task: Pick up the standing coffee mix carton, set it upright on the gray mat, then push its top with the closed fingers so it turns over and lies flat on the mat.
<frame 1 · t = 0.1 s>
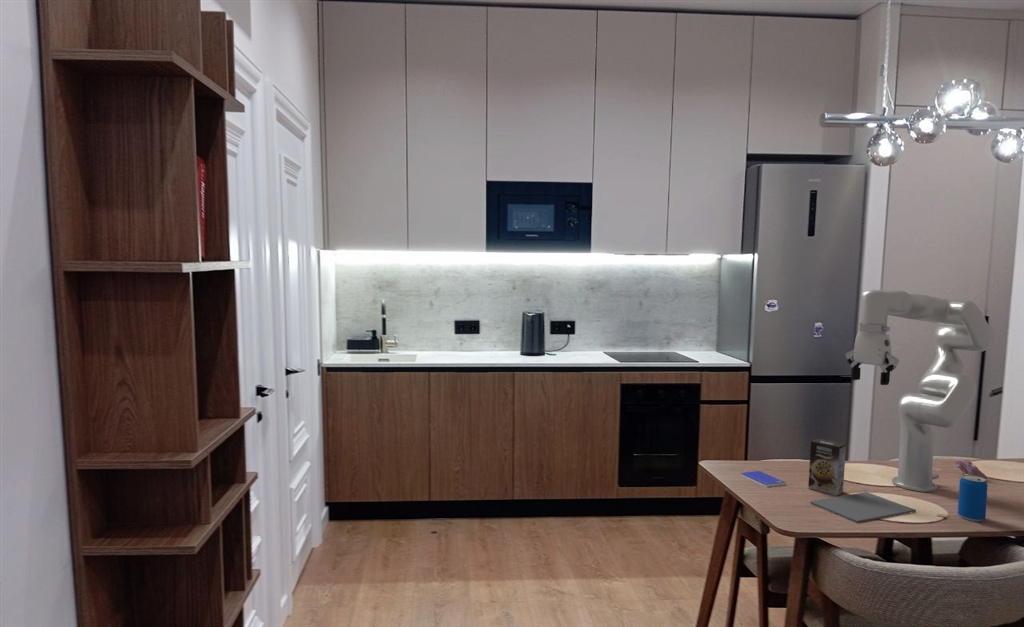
hand: (869, 382, 193), 37 cm above the table, tool pointing down, fingers open, 9 cm apart
coffee box: (825, 490, 199), on the table
beverage can: (971, 518, 177), on the table
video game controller: (970, 477, 216), on the table
hard drive: (762, 482, 208), on the table
gray mat: (861, 507, 184), on the table
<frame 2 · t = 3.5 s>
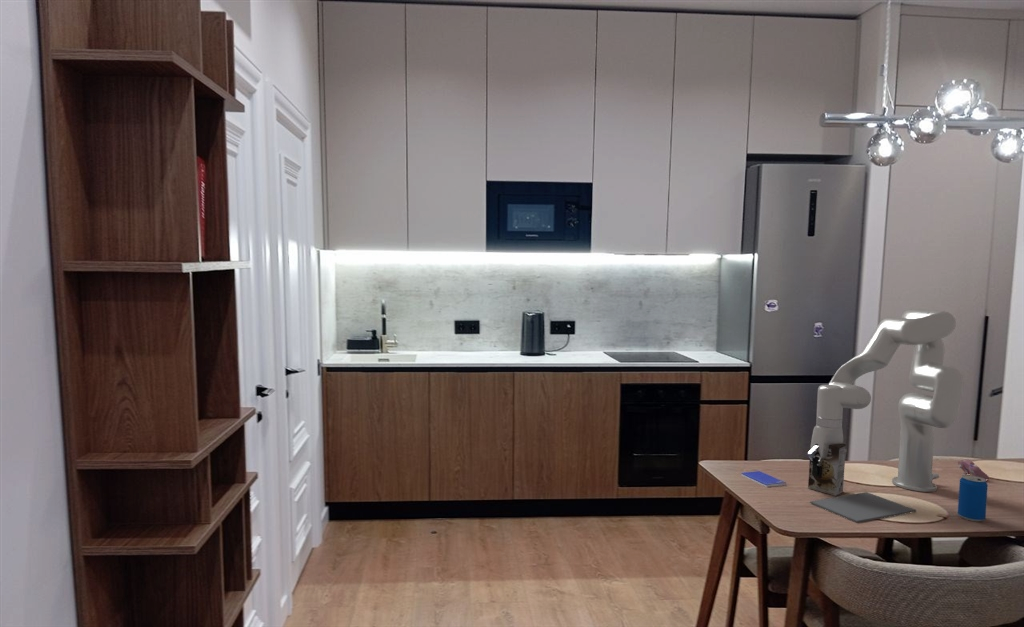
hand: (826, 475, 198), 5 cm above the table, tool pointing down, fingers closed on coffee box, 7 cm apart
coffee box: (825, 490, 199), on the table, touching gripper
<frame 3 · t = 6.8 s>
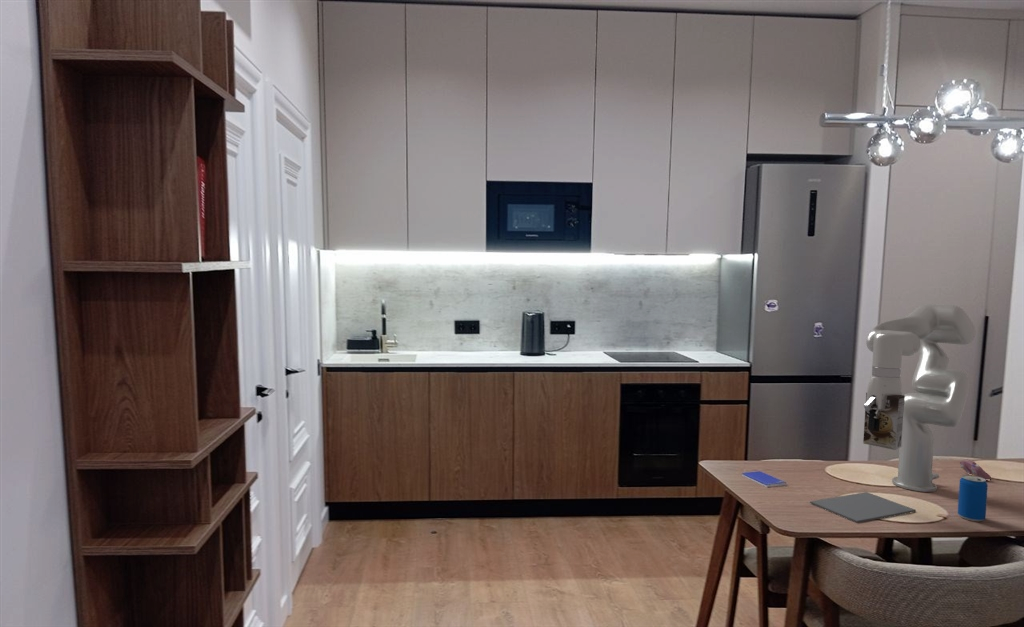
hand: (883, 429, 185), 24 cm above the table, tool pointing down, fingers closed on coffee box, 7 cm apart
coffee box: (882, 446, 186), point 18 cm above the table, touching gripper
when the fingers open (6 cm above the table, at t = 10.5 s): coffee box stays where it is, resting on gray mat.
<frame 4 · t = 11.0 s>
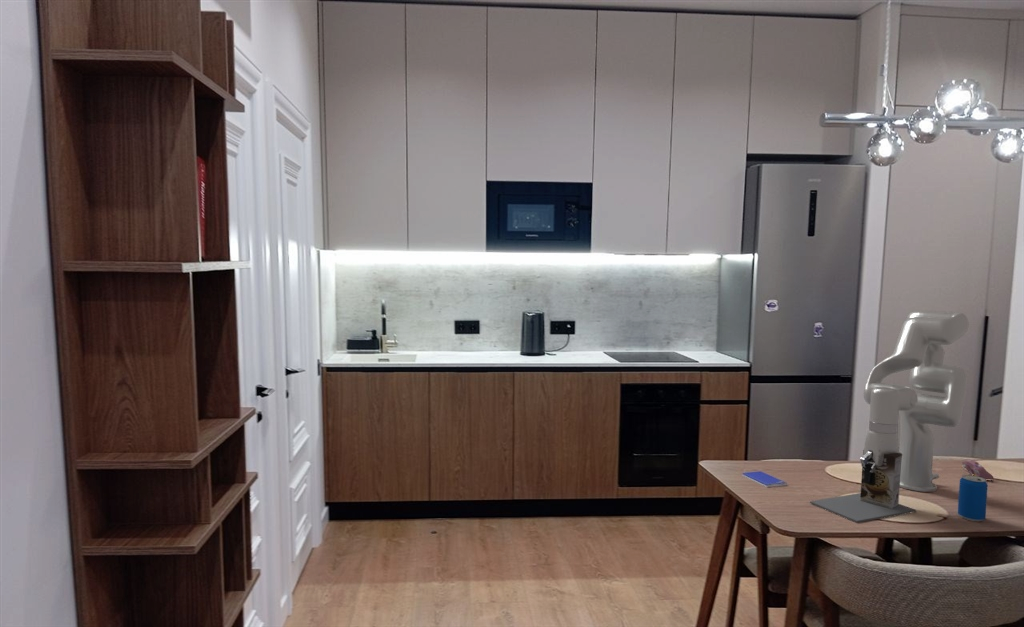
hand: (880, 482, 186), 7 cm above the table, tool pointing down, fingers open, 9 cm apart
coffee box: (879, 503, 187), resting on gray mat
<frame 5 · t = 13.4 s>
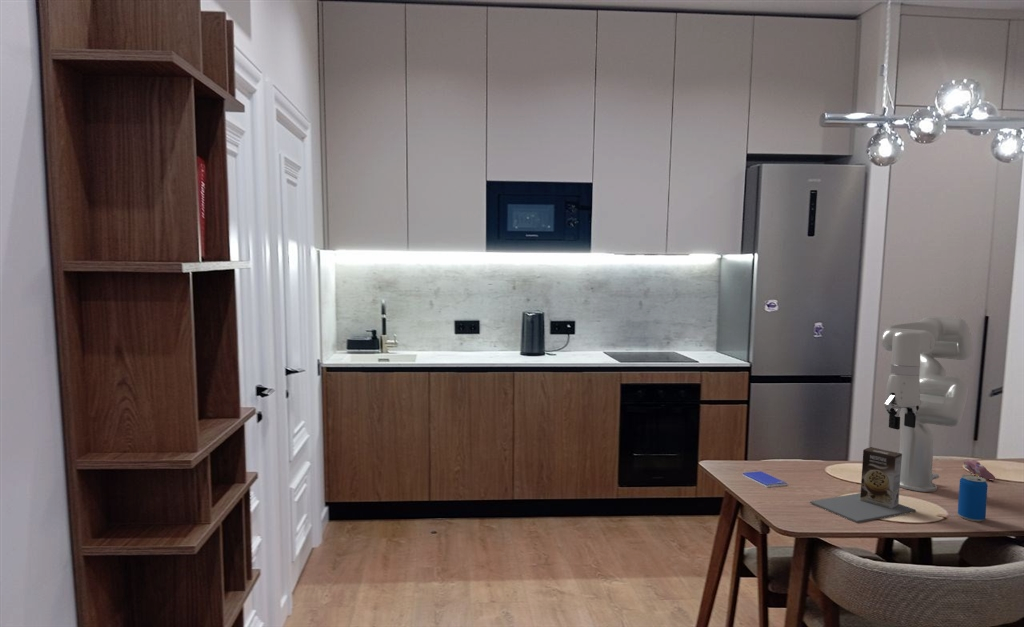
hand: (901, 427, 188), 24 cm above the table, tool pointing down, fingers open, 6 cm apart
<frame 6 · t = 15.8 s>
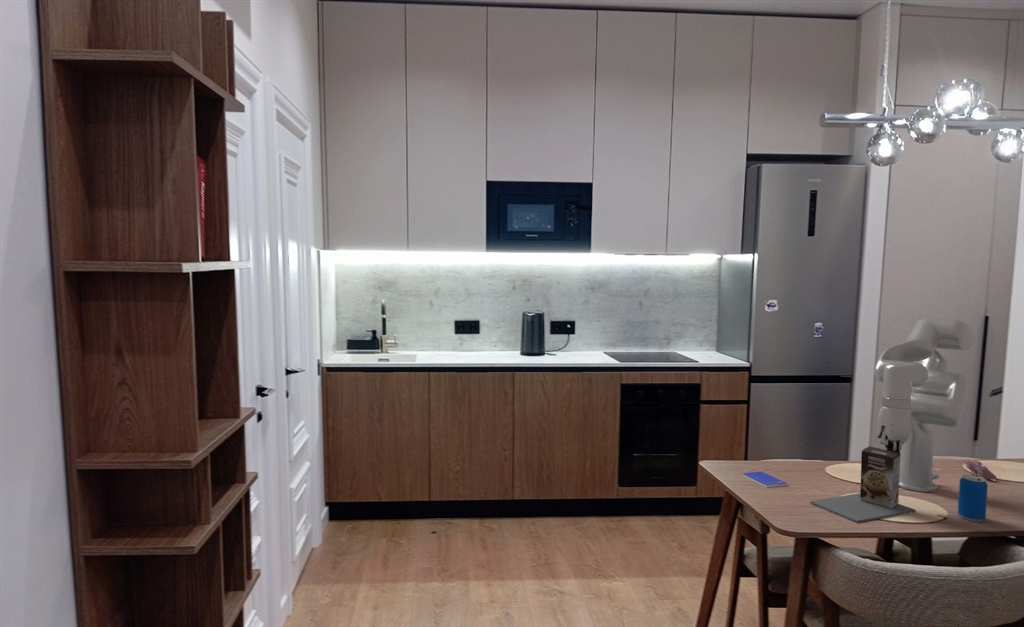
hand: (892, 461, 188), 13 cm above the table, tool pointing down, fingers closed
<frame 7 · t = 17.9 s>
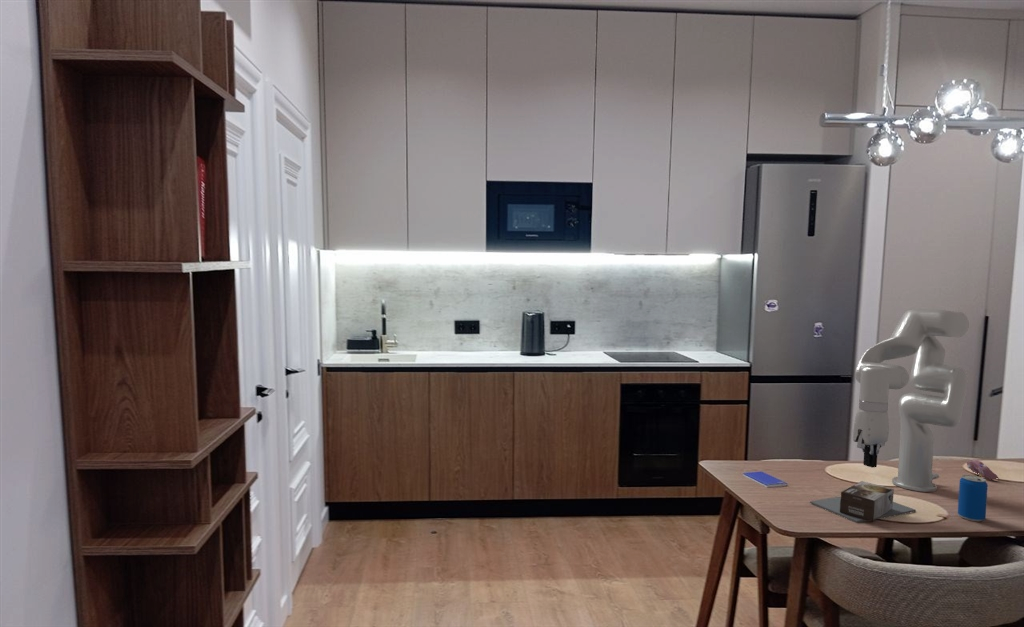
hand: (869, 465, 184), 13 cm above the table, tool pointing down, fingers closed
coffee box: (877, 494, 184), point 4 cm above the table, touching gray mat
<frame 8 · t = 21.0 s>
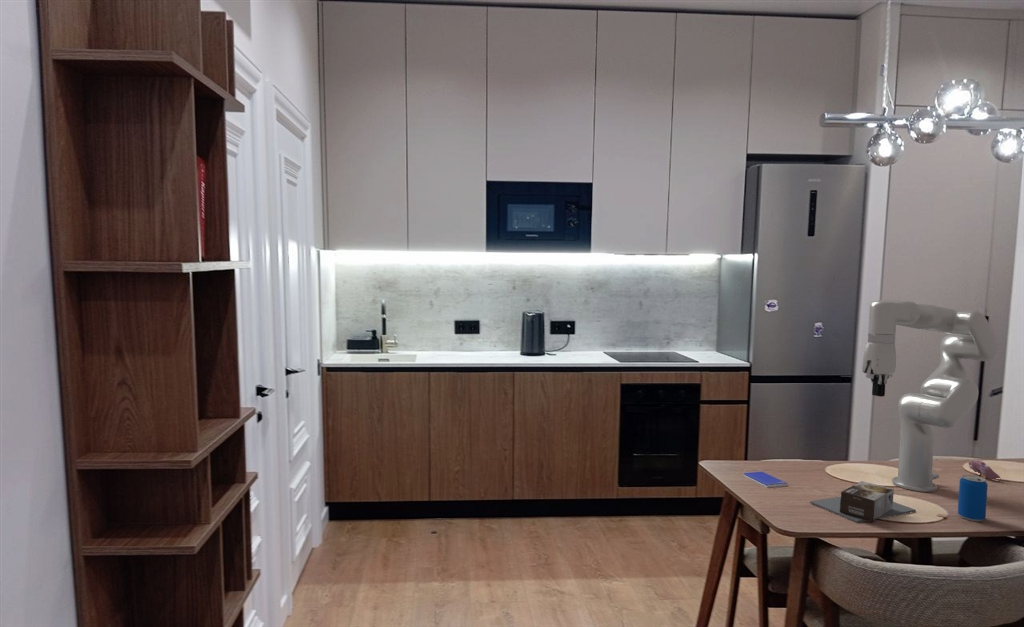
hand: (878, 395, 195), 32 cm above the table, tool pointing down, fingers closed
at the end: coffee box tilted 90°; coffee box inside the target area (5.6 cm from its centre), point 3.8 cm above the table; the gripper is holding nothing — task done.
